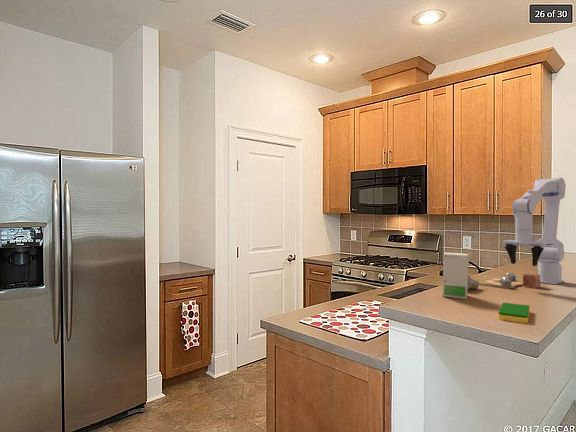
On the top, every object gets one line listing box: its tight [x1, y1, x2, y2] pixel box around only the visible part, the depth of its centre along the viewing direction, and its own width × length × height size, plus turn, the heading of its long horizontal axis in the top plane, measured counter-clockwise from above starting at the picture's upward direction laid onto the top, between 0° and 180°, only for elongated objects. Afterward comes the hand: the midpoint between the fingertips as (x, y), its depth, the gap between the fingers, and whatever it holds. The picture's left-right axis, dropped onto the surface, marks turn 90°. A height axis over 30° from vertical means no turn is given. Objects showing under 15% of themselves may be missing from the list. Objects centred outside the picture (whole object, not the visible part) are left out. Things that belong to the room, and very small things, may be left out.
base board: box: [478, 277, 523, 290], centre depth 159 cm, size 17×12×1 cm
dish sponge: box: [498, 302, 530, 324], centre depth 113 cm, size 7×14×2 cm, turn 146°
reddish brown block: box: [522, 272, 541, 289], centre depth 153 cm, size 4×4×5 cm
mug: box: [468, 275, 480, 290], centre depth 149 cm, size 8×10×10 cm
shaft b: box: [500, 275, 511, 286], centre depth 152 cm, size 4×3×3 cm
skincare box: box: [442, 251, 469, 300], centre depth 138 cm, size 8×7×16 cm
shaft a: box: [503, 271, 517, 281], centre depth 162 cm, size 5×3×3 cm
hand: (523, 264), depth 148 cm, fingers open, 7 cm apart
